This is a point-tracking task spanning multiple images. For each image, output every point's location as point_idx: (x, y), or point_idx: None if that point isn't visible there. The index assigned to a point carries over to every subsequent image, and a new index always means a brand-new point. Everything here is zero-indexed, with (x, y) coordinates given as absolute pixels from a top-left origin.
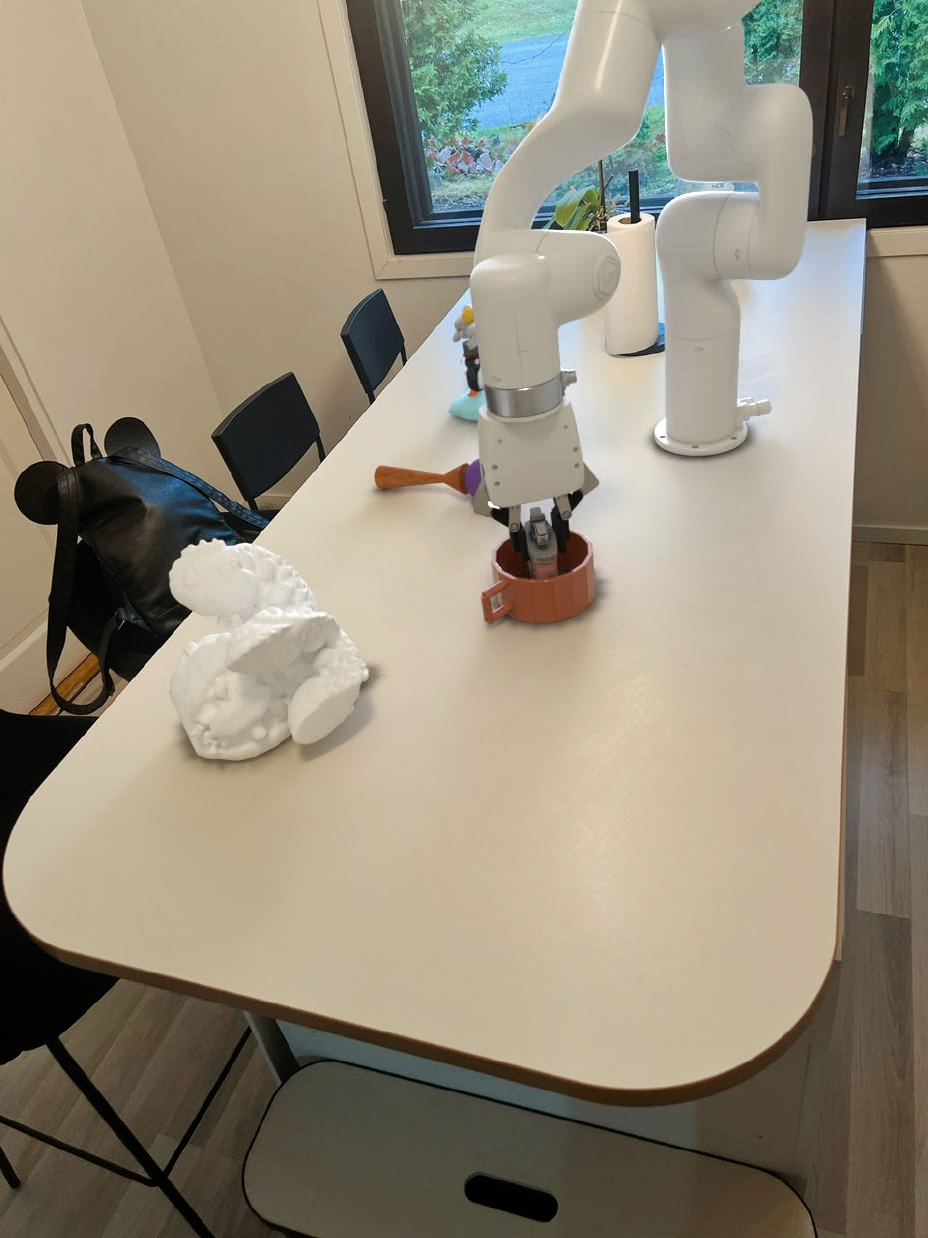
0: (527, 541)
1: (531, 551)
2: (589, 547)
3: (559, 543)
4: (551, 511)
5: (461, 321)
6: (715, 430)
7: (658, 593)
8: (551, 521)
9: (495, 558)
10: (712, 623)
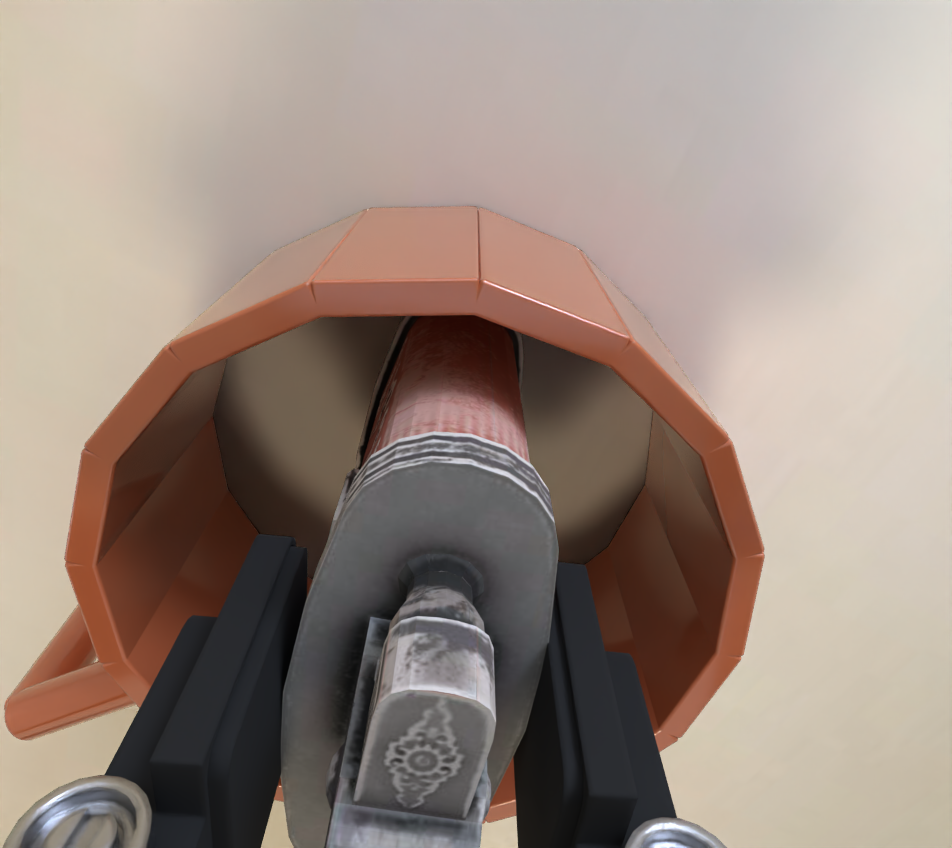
0: (300, 717)
1: (293, 814)
2: (702, 687)
3: (515, 765)
4: (574, 794)
5: None
6: None
7: (835, 641)
8: (551, 700)
9: (96, 538)
10: (855, 811)
